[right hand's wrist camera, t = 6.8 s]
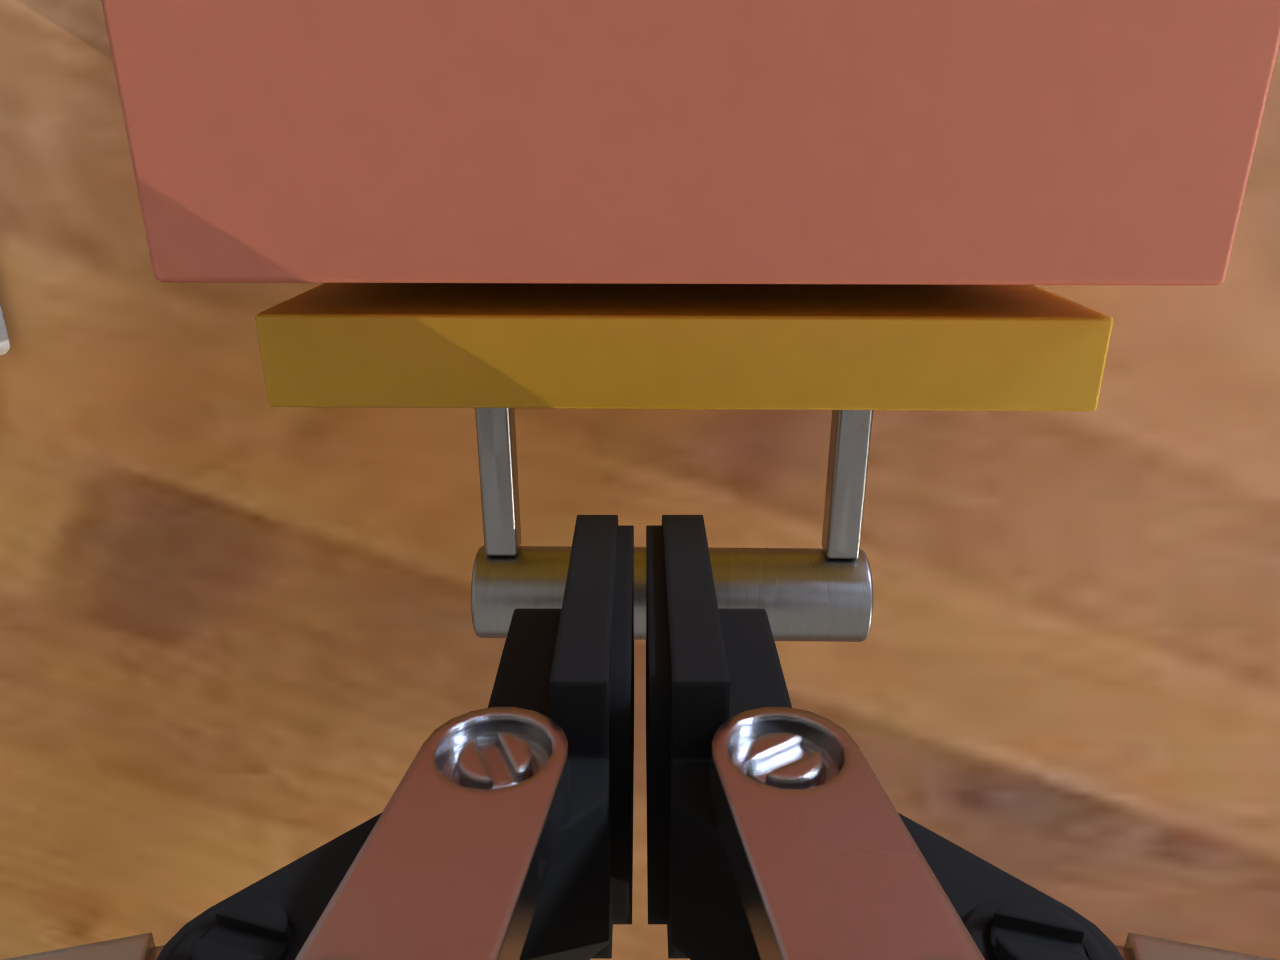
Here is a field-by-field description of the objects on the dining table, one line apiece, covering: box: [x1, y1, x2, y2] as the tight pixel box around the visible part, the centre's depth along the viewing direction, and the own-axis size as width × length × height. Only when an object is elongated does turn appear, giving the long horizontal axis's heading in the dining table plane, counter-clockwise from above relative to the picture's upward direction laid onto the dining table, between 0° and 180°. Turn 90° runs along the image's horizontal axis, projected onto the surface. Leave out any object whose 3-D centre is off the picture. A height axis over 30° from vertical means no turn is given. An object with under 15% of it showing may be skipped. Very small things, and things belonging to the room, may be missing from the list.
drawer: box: [255, 283, 1113, 642], centre depth 14 cm, size 21×10×10 cm, turn 0°
